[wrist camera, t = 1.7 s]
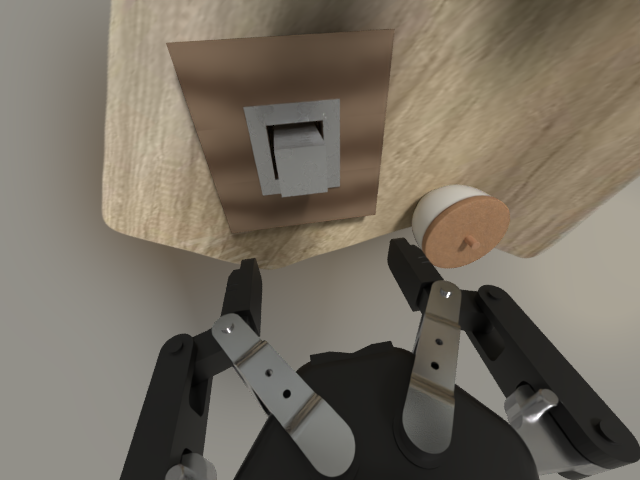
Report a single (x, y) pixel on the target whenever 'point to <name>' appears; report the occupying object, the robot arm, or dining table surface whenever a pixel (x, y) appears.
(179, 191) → the dining table surface
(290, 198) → the mount plate
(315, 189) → the brushed steel block
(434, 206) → the lidded bowl
